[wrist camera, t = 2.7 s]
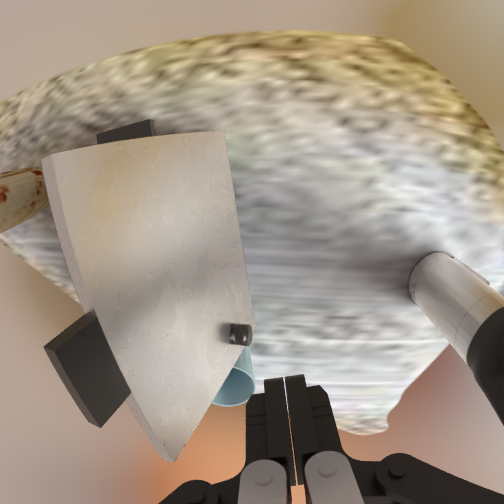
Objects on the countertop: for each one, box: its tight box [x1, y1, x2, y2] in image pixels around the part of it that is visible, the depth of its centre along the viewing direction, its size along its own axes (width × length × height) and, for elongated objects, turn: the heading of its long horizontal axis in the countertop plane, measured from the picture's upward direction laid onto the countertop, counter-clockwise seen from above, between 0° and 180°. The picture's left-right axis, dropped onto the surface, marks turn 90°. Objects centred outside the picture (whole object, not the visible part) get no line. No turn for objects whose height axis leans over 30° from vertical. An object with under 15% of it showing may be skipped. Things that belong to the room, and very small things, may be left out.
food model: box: [0, 167, 50, 233], centre depth 28 cm, size 10×7×20 cm
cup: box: [212, 346, 256, 406], centre depth 41 cm, size 8×8×10 cm
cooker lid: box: [41, 130, 256, 463], centre depth 20 cm, size 21×20×2 cm
